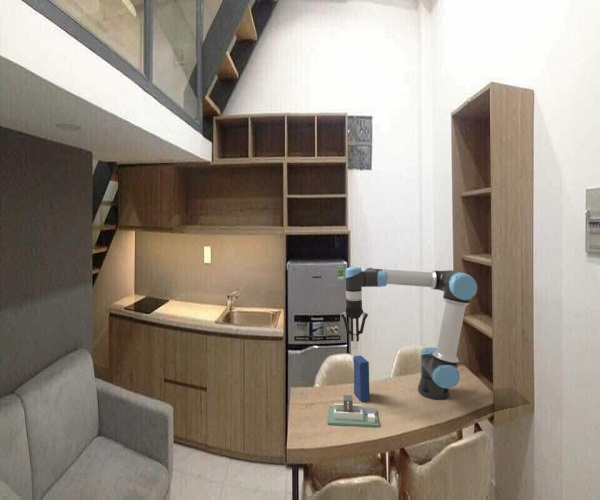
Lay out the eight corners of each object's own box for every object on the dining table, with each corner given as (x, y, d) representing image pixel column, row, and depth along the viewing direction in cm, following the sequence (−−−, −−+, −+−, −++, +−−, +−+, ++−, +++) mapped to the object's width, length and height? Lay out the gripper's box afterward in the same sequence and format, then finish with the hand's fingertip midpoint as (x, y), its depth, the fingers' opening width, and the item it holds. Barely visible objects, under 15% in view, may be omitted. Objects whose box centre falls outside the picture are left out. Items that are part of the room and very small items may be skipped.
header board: (376, 410, 157) (375, 401, 157) (379, 427, 143) (378, 418, 143) (329, 408, 160) (329, 400, 160) (327, 424, 146) (327, 415, 146)
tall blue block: (370, 401, 165) (369, 361, 165) (360, 402, 164) (360, 362, 163) (362, 392, 175) (361, 355, 174) (353, 393, 173) (352, 356, 173)
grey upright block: (352, 412, 154) (352, 395, 153) (352, 419, 148) (352, 401, 147) (344, 411, 154) (343, 395, 154) (343, 419, 148) (343, 401, 148)
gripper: (367, 297, 163) (368, 345, 164) (340, 297, 164) (341, 344, 165) (368, 300, 155) (369, 350, 156) (340, 300, 157) (341, 350, 158)
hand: (355, 347), depth 161 cm, fingers closed
